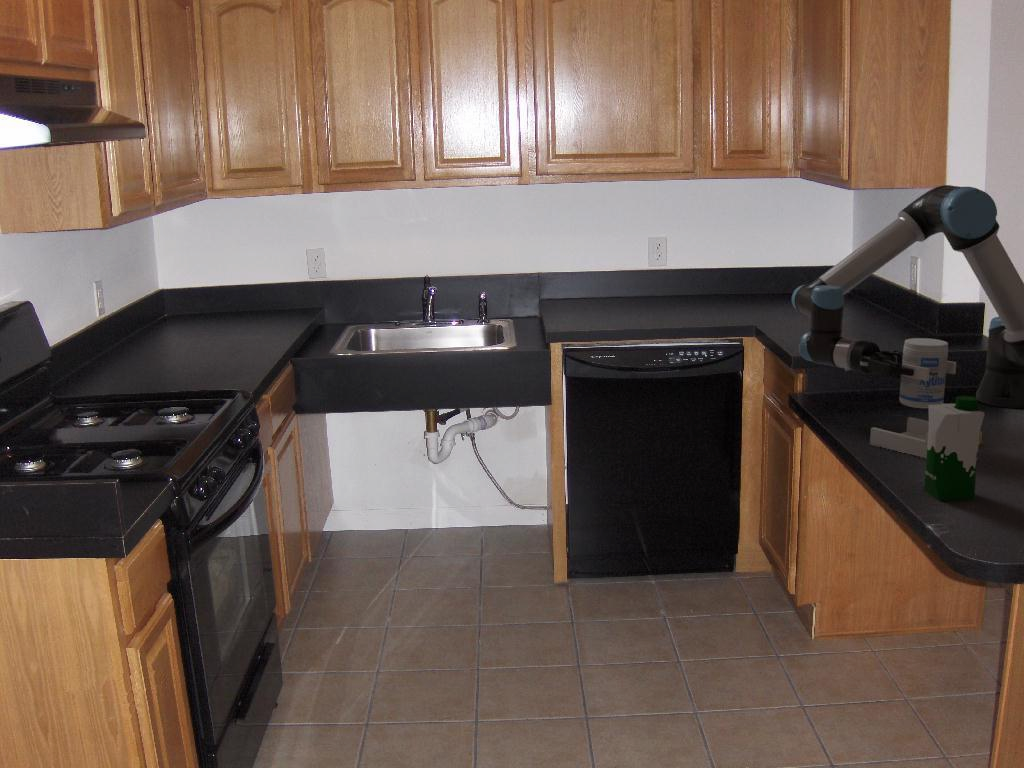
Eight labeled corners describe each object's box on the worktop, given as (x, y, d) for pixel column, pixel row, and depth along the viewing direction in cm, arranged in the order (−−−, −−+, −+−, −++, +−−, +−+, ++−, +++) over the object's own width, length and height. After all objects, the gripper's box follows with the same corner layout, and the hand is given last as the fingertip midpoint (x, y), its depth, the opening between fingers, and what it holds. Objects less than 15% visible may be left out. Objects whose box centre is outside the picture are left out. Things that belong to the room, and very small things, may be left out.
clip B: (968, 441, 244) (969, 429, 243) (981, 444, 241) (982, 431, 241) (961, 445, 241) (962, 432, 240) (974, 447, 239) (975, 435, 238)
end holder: (869, 444, 243) (871, 419, 241) (909, 432, 251) (911, 409, 250) (928, 460, 231) (930, 434, 229) (968, 447, 239) (970, 422, 238)
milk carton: (981, 501, 205) (990, 403, 200) (936, 503, 204) (944, 404, 200) (959, 486, 214) (967, 392, 209) (916, 488, 213) (924, 393, 208)
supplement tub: (922, 411, 232) (927, 347, 229) (889, 402, 241) (894, 340, 237) (952, 405, 237) (958, 342, 233) (919, 397, 245) (924, 335, 241)
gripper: (884, 364, 258) (968, 380, 240) (827, 377, 246) (910, 395, 228) (887, 334, 256) (971, 348, 238) (829, 346, 244) (913, 361, 226)
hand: (941, 371), depth 233 cm, fingers closed on supplement tub, 9 cm apart
